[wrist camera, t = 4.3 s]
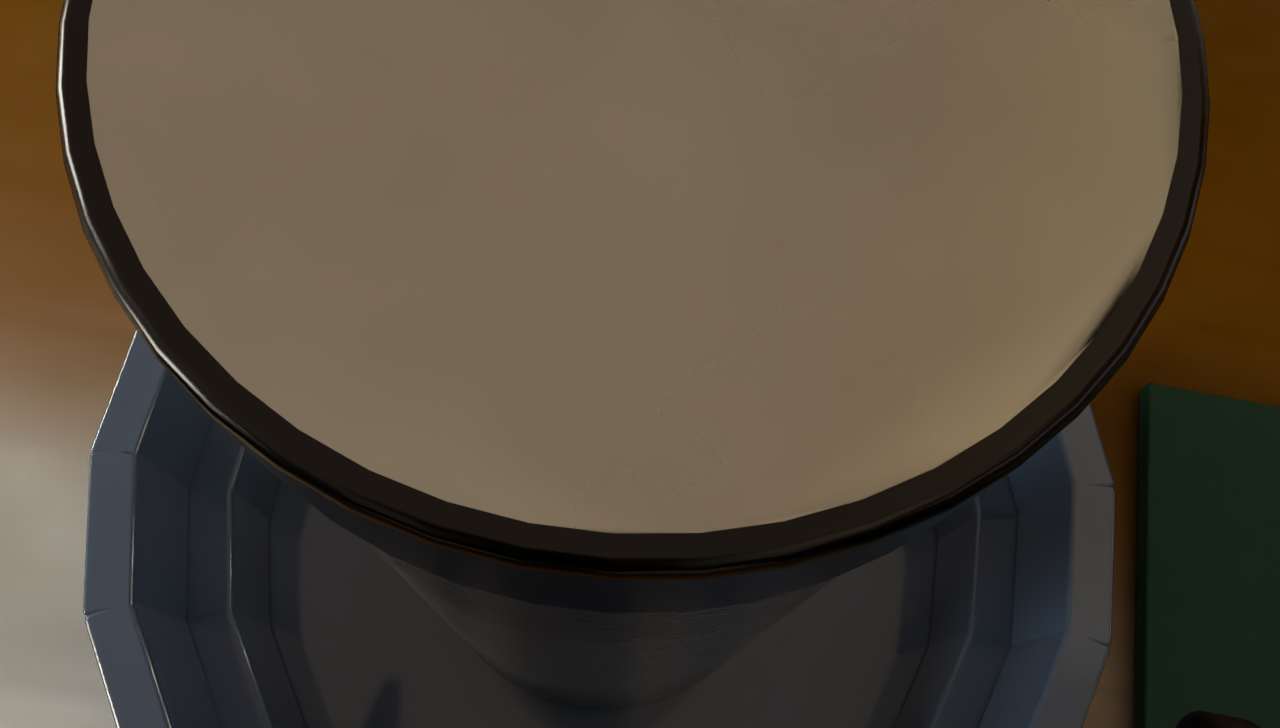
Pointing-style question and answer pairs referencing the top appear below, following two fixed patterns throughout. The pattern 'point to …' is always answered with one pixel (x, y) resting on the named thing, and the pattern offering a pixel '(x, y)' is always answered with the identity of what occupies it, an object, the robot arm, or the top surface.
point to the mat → (1207, 558)
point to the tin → (635, 278)
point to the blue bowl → (504, 712)
